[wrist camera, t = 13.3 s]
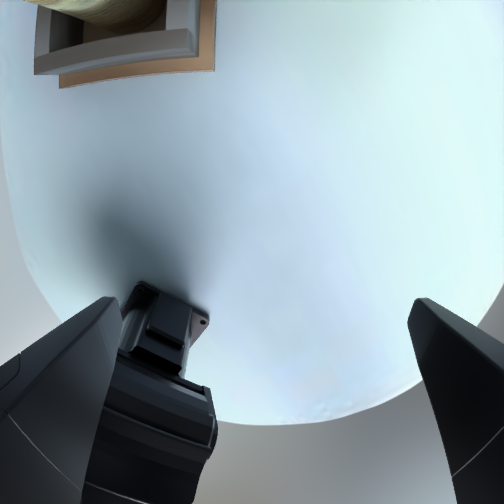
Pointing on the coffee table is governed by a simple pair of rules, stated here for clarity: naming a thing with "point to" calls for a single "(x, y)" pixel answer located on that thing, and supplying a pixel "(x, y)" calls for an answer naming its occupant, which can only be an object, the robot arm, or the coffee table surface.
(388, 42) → the coffee table surface
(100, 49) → the tray
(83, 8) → the gold metallic cylinder
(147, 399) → the robot arm
